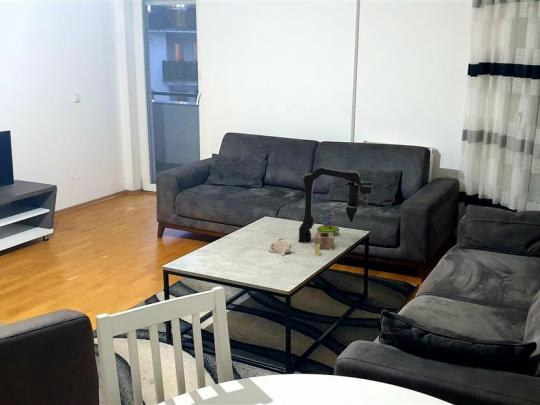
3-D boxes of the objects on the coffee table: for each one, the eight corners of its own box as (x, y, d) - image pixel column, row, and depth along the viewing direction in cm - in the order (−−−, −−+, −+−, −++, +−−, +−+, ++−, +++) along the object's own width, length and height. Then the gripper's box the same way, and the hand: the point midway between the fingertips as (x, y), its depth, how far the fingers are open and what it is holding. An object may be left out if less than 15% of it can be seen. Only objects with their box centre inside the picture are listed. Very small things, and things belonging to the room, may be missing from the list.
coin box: (314, 249, 341) (315, 237, 339) (316, 243, 350) (316, 231, 349) (332, 249, 340) (333, 237, 338) (333, 244, 349) (333, 232, 347)
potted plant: (313, 234, 367) (313, 210, 363) (322, 229, 377) (322, 205, 374) (334, 238, 360) (335, 213, 357) (342, 232, 371) (343, 208, 367)
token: (314, 255, 331) (315, 246, 330) (315, 252, 336) (315, 243, 334) (319, 255, 330) (319, 246, 329) (320, 252, 335) (320, 244, 334)
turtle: (295, 257, 337) (298, 239, 338) (290, 256, 328) (293, 238, 329) (269, 253, 343) (272, 235, 343) (263, 252, 334) (266, 234, 334)
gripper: (366, 198, 332) (365, 225, 336) (368, 190, 350) (367, 216, 354) (346, 196, 335) (345, 224, 339) (349, 189, 352) (348, 215, 356)
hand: (352, 219), depth 347 cm, fingers open, 9 cm apart
